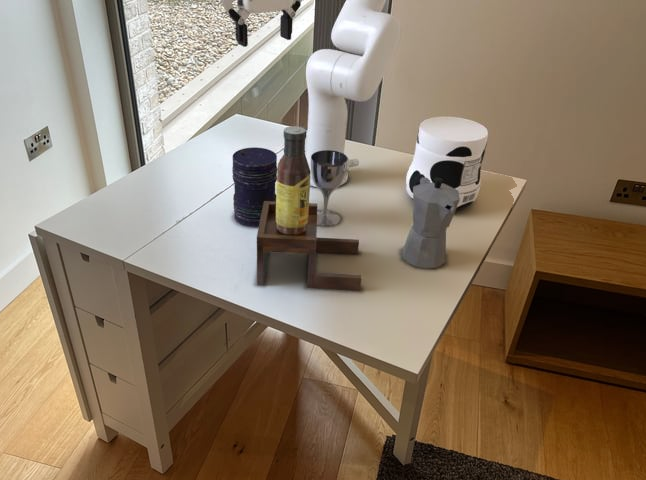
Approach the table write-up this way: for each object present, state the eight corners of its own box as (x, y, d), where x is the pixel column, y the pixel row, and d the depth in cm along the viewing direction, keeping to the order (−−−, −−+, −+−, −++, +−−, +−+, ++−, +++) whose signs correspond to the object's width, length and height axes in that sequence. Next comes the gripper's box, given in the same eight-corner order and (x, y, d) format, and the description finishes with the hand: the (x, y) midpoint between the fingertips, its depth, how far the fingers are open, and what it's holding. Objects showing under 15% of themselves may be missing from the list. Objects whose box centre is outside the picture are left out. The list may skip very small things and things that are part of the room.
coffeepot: (458, 271, 119) (478, 192, 108) (415, 277, 117) (431, 197, 106) (426, 233, 131) (440, 157, 120) (386, 237, 129) (397, 161, 118)
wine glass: (345, 213, 138) (351, 153, 129) (337, 229, 132) (342, 168, 123) (312, 207, 140) (316, 148, 131) (303, 223, 134) (306, 162, 125)
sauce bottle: (304, 238, 111) (309, 139, 99) (272, 235, 112) (273, 136, 100) (310, 221, 116) (315, 125, 105) (279, 218, 117) (281, 122, 106)
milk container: (409, 178, 152) (421, 110, 142) (478, 189, 148) (495, 120, 137) (397, 209, 139) (409, 136, 129) (472, 222, 135) (491, 148, 124)
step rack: (357, 251, 124) (362, 205, 118) (359, 290, 113) (365, 242, 107) (263, 246, 126) (263, 200, 119) (257, 285, 115) (256, 237, 108)
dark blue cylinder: (283, 211, 138) (284, 152, 129) (265, 231, 131) (265, 169, 122) (245, 203, 141) (244, 144, 132) (226, 221, 134) (223, 160, 125)
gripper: (229, -54, 98) (233, 52, 109) (316, -60, 105) (312, 40, 116) (210, -59, 104) (216, 43, 114) (294, -65, 110) (292, 31, 121)
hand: (264, 41), depth 115 cm, fingers open, 9 cm apart
